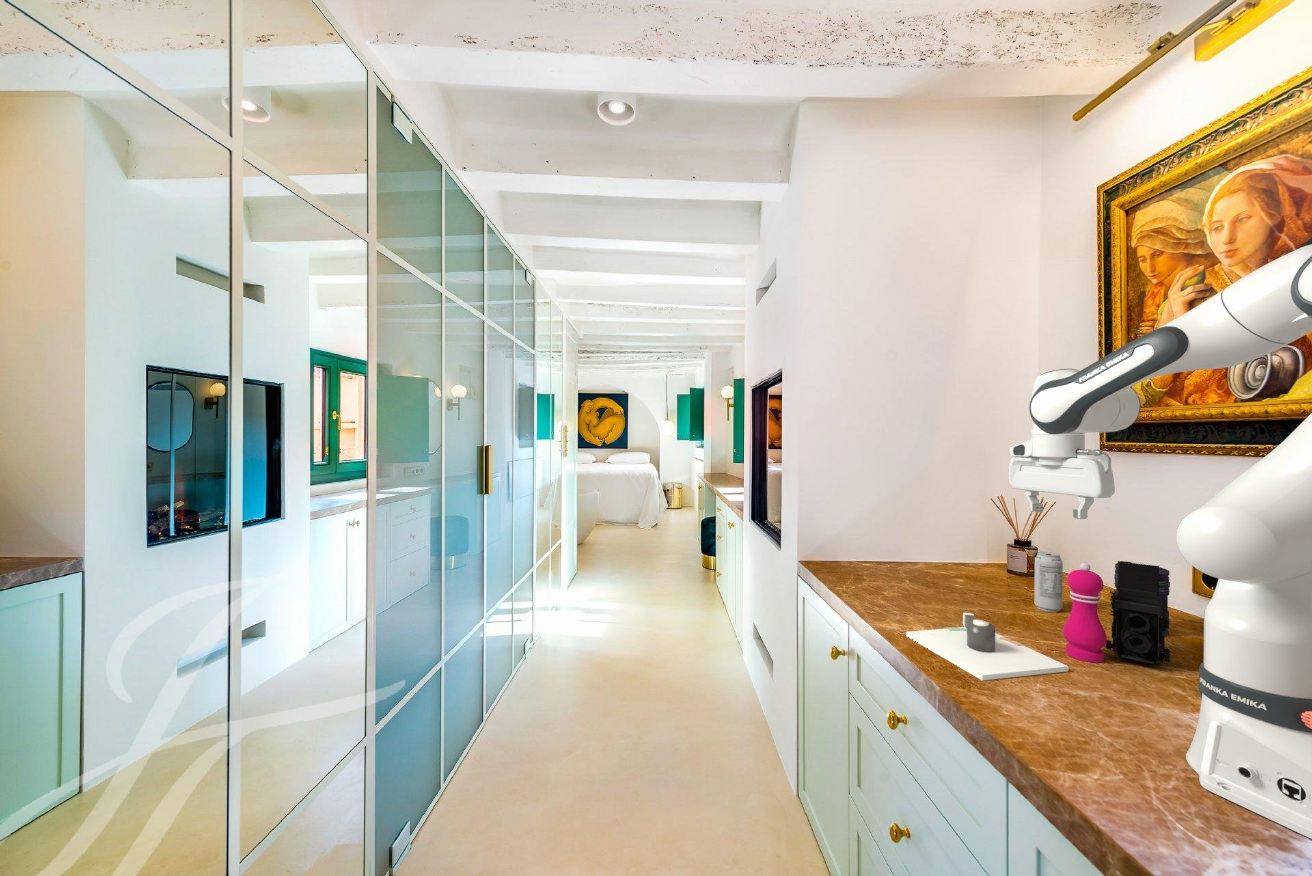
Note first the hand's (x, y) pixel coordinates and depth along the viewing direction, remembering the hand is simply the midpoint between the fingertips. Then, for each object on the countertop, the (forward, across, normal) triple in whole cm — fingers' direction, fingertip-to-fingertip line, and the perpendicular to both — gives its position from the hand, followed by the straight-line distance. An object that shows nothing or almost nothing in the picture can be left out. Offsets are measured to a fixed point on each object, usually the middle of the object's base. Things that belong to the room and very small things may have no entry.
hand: (1057, 515), depth 107 cm
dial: (+29, +11, +10) cm, 33 cm away
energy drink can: (+30, +27, -28) cm, 50 cm away
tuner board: (+30, +7, +12) cm, 34 cm away
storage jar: (+31, +11, -37) cm, 49 cm away
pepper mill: (+31, +1, -8) cm, 32 cm away
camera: (+31, -2, -18) cm, 36 cm away
